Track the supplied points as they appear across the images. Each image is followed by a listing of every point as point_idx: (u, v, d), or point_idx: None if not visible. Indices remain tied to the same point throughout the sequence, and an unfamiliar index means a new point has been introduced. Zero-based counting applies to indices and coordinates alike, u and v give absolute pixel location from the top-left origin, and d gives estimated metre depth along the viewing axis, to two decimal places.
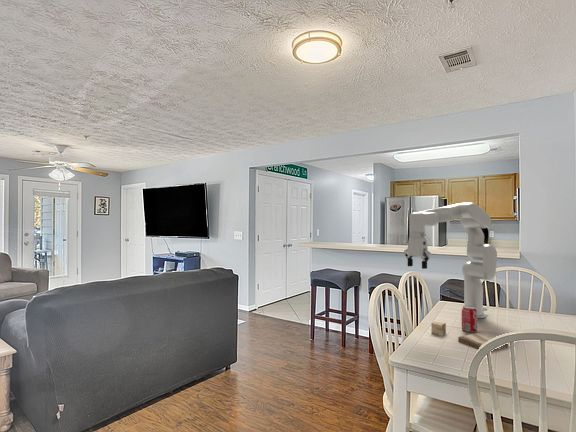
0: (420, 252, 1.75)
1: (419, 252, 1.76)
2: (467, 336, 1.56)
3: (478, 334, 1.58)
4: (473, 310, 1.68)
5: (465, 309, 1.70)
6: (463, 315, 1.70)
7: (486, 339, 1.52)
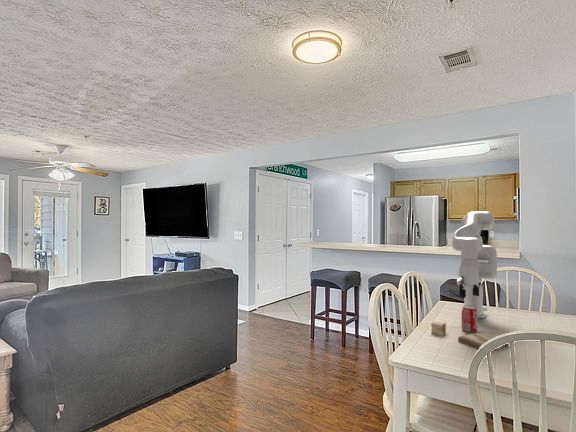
0: (478, 279, 1.71)
1: (477, 280, 1.70)
2: (467, 336, 1.56)
3: (478, 334, 1.58)
4: (473, 310, 1.68)
5: (465, 309, 1.70)
6: (463, 315, 1.70)
7: (486, 339, 1.52)
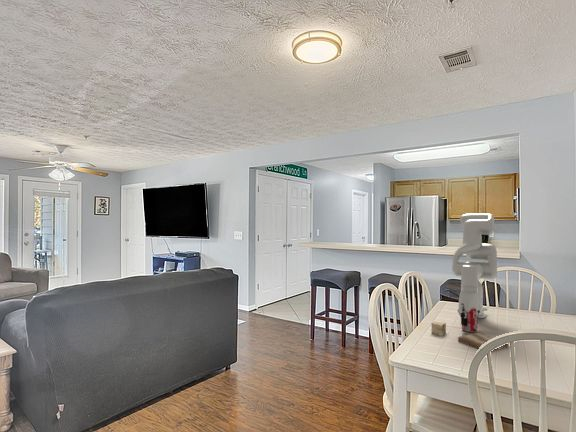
0: (478, 306, 1.71)
1: (478, 306, 1.71)
2: (467, 336, 1.56)
3: (478, 334, 1.58)
4: (473, 310, 1.68)
5: None
6: None
7: (486, 339, 1.52)
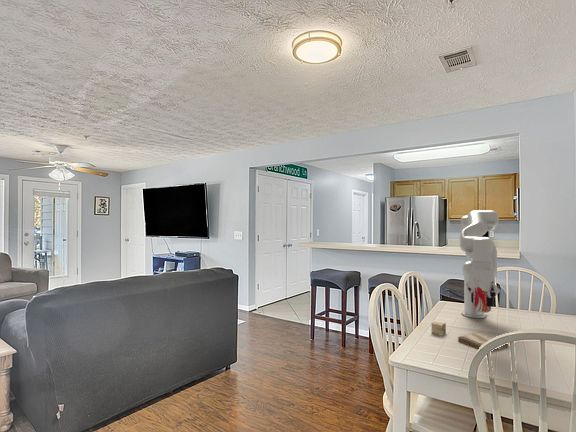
0: None
1: None
2: (467, 336, 1.56)
3: (478, 334, 1.58)
4: None
5: None
6: None
7: (486, 339, 1.52)
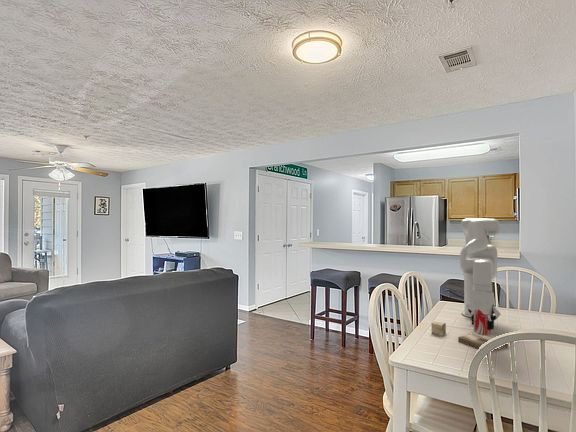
0: None
1: None
2: (467, 336, 1.56)
3: (478, 334, 1.58)
4: None
5: None
6: (488, 319, 1.49)
7: (486, 339, 1.52)
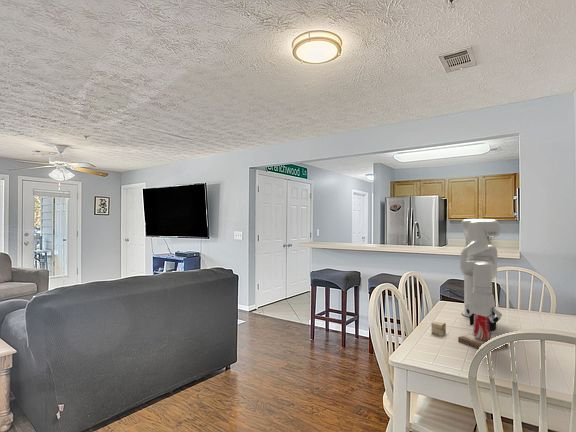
0: None
1: None
2: (467, 336, 1.56)
3: None
4: None
5: None
6: (488, 324, 1.50)
7: None
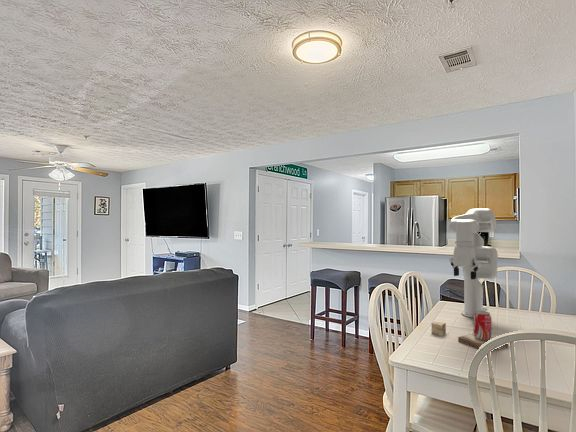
0: None
1: None
2: (467, 336, 1.56)
3: None
4: None
5: (488, 315, 1.50)
6: (488, 324, 1.50)
7: None
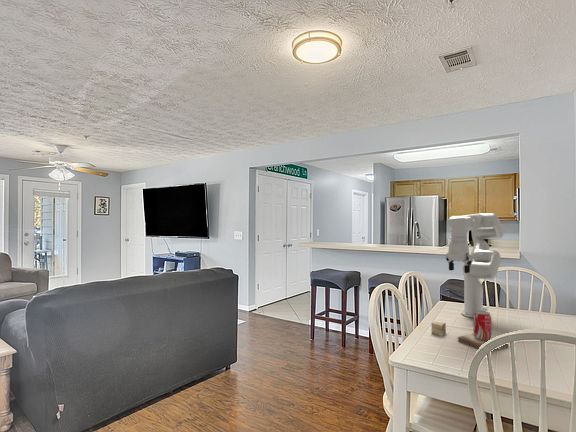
0: None
1: None
2: (467, 336, 1.56)
3: None
4: None
5: (488, 315, 1.50)
6: (488, 324, 1.50)
7: None
